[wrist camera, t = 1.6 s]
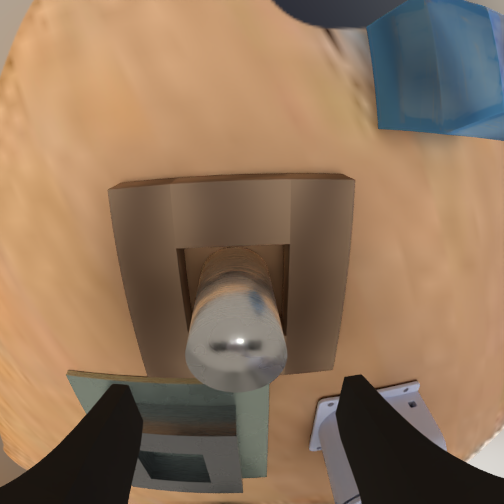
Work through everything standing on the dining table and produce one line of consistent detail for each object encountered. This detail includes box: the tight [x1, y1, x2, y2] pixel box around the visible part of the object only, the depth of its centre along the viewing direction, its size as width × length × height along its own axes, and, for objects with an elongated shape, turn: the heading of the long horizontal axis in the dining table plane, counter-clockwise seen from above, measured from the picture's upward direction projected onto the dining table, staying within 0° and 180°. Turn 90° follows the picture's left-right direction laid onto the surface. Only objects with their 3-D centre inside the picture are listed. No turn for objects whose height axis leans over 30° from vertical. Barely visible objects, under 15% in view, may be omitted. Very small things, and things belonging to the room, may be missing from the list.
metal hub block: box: [66, 370, 269, 493], centre depth 22 cm, size 16×16×4 cm
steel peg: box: [185, 247, 287, 393], centre depth 15 cm, size 4×4×7 cm
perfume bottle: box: [366, 0, 504, 141], centre depth 9 cm, size 6×6×12 cm
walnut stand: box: [108, 173, 355, 378], centre depth 17 cm, size 12×12×2 cm
